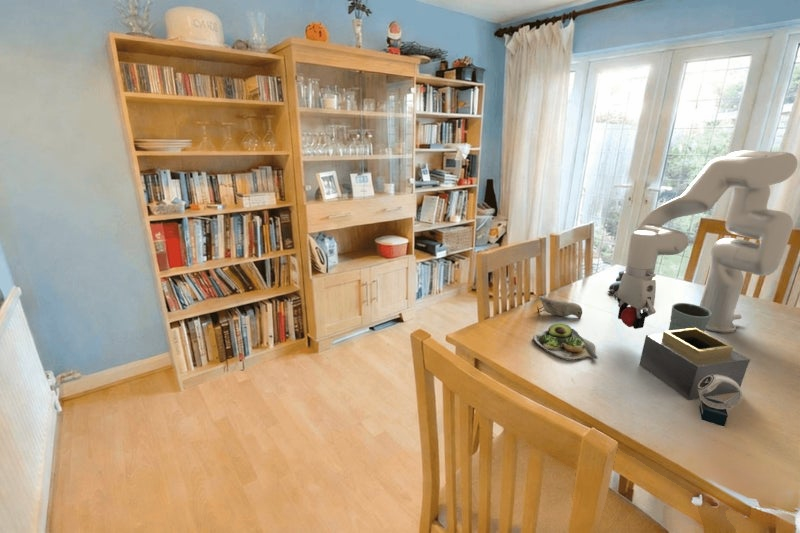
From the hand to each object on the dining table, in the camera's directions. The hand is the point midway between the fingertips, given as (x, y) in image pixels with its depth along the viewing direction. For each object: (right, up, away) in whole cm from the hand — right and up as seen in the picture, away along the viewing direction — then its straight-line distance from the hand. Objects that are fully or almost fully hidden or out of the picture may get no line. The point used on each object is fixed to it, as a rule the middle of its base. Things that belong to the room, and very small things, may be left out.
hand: (630, 322), depth 121 cm
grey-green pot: (+18, -7, +2) cm, 20 cm away
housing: (+6, -13, -16) cm, 21 cm away
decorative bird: (-15, -1, +21) cm, 25 cm away
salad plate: (-21, -8, +1) cm, 23 cm away
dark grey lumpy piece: (+22, +6, +39) cm, 46 cm away
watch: (+1, -18, -30) cm, 35 cm away
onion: (0, -2, +1) cm, 2 cm away
